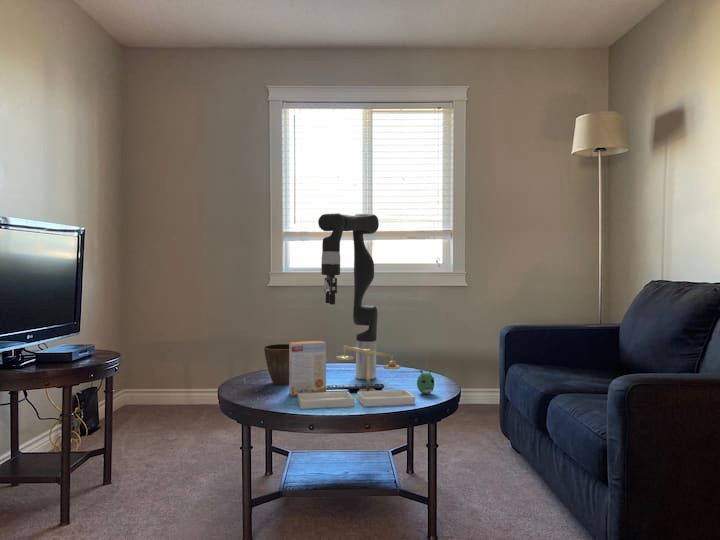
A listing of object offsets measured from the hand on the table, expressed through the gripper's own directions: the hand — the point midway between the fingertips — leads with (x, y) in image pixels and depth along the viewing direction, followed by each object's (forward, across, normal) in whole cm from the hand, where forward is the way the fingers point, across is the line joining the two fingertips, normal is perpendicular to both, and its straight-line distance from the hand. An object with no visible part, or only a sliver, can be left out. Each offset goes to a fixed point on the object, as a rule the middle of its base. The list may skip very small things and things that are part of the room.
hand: (330, 303), depth 208 cm
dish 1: (+36, +13, -4) cm, 39 cm away
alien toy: (+36, +7, +38) cm, 53 cm away
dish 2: (+36, +15, +19) cm, 44 cm away
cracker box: (+36, -2, -8) cm, 37 cm away
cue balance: (+36, +3, +16) cm, 39 cm away
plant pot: (+36, -23, -17) cm, 46 cm away
